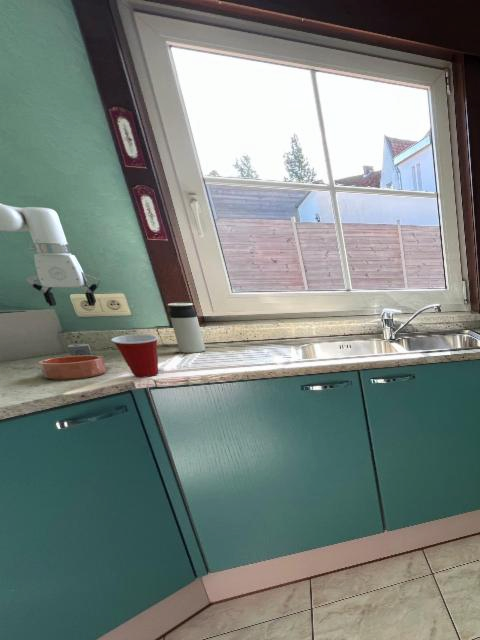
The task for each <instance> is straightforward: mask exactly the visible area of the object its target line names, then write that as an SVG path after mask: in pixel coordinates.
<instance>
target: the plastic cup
mask: <svg viewBox="0 0 480 640" xmlns="http://www.w3.org/2000/svg"><path fill="white" fill-rule="evenodd" d="M158 339H159V336H157V335H154V334H127V335H119V336H115V337H112V338H111V339H110V340H111V342H112V343H113V344H115V346H116V347H117V350H119V352H120V354H121V356H122V358H123V359H124V361H125V363H126V365H127V366H128V367H129V369H130V371H131V373H132V375H133V376H134V377H135V376H136V378H146V377H145V376H149V377H154V376H153V375H155V376H158V375H159V359H158V348H157V347H158V345H157V344H158ZM157 374H158V375H157Z"/></svg>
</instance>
